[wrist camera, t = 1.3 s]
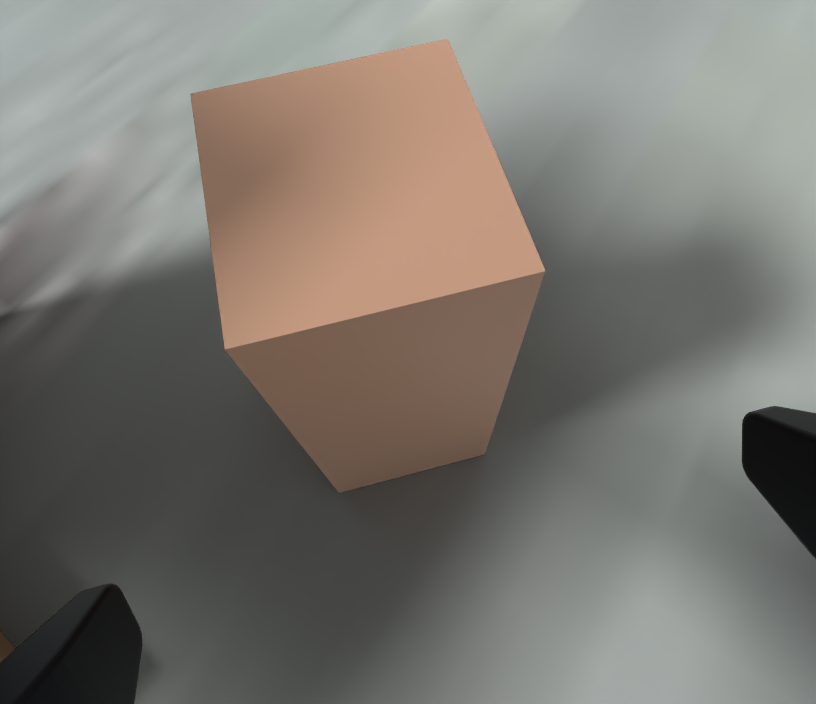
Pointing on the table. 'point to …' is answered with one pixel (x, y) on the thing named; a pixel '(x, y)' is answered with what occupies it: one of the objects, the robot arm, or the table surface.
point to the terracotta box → (367, 258)
